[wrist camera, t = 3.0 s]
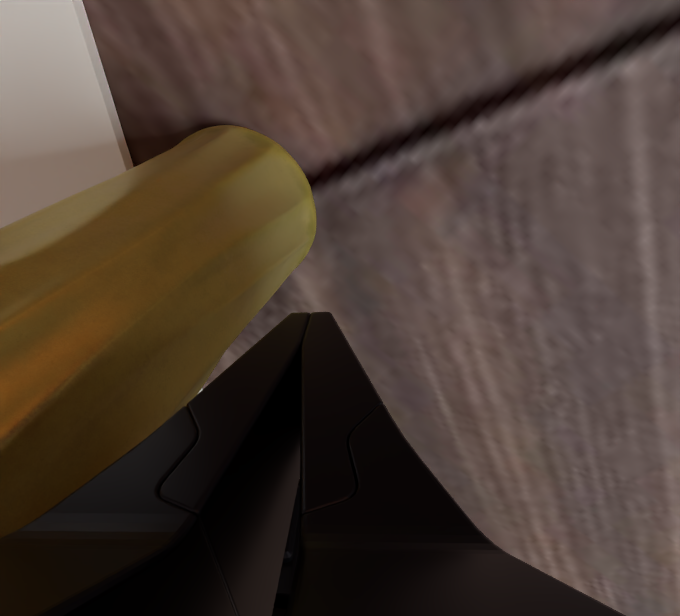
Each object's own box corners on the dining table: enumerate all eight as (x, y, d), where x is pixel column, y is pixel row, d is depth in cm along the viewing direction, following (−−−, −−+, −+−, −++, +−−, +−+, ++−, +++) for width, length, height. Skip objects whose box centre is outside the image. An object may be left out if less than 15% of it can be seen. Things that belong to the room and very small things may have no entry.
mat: (213, 423, 24) (209, 431, 23) (5, 427, 25) (-2, 435, 24) (8, -237, 11) (-8, -250, 11) (-397, -182, 12) (-430, -192, 12)
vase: (234, 300, 19) (-103, 724, 7) (136, 180, 17) (-558, 500, 5) (348, 237, 17) (114, 735, 5) (250, 86, 15) (-612, 299, 3)
